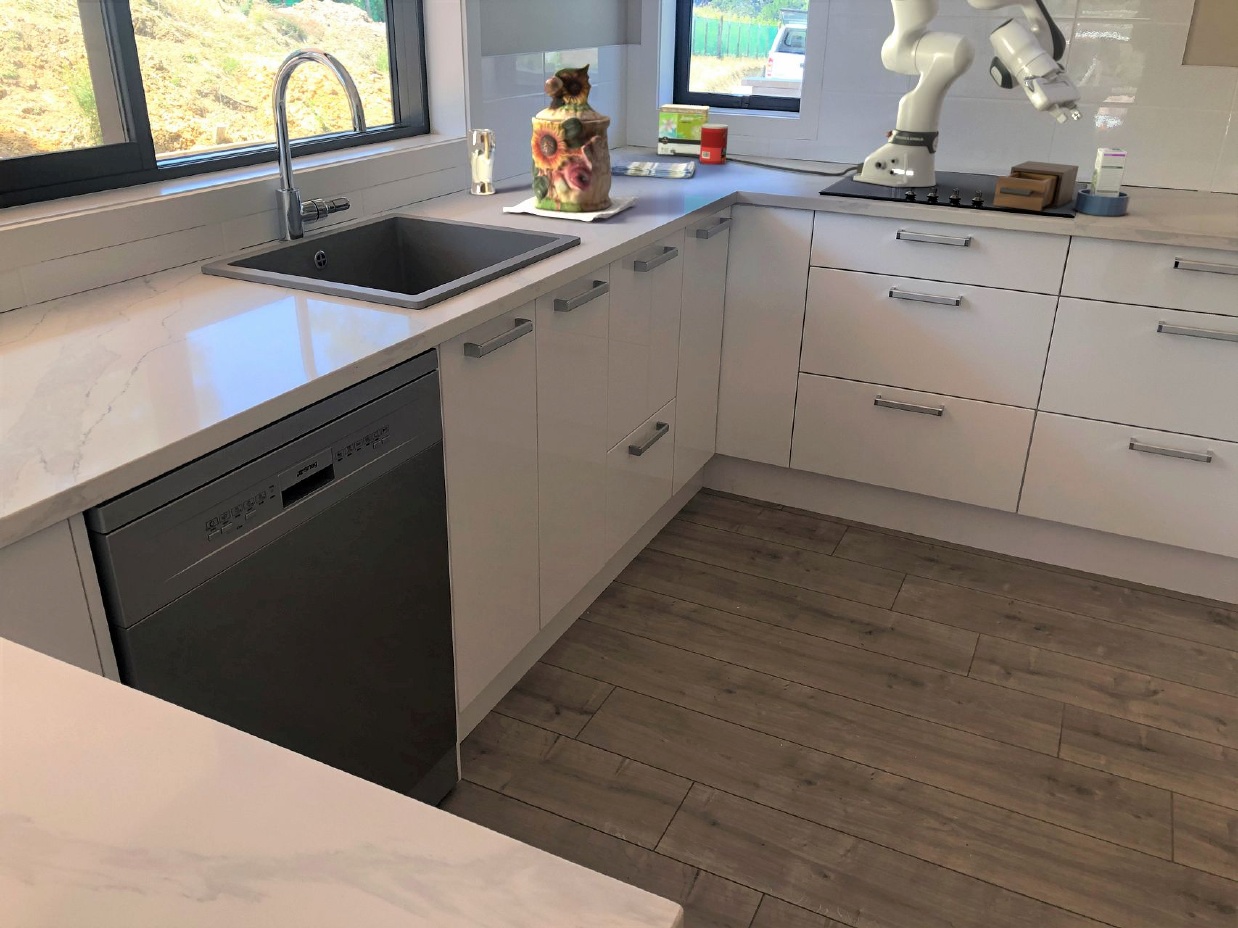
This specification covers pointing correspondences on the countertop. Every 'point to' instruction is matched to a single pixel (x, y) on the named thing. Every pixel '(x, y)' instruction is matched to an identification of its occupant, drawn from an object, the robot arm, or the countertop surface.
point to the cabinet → (1063, 172)
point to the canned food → (713, 143)
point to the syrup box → (1108, 172)
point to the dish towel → (654, 169)
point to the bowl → (1101, 204)
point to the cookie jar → (571, 154)
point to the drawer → (1025, 190)
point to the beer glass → (482, 160)
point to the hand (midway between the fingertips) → (1072, 120)
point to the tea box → (681, 128)
